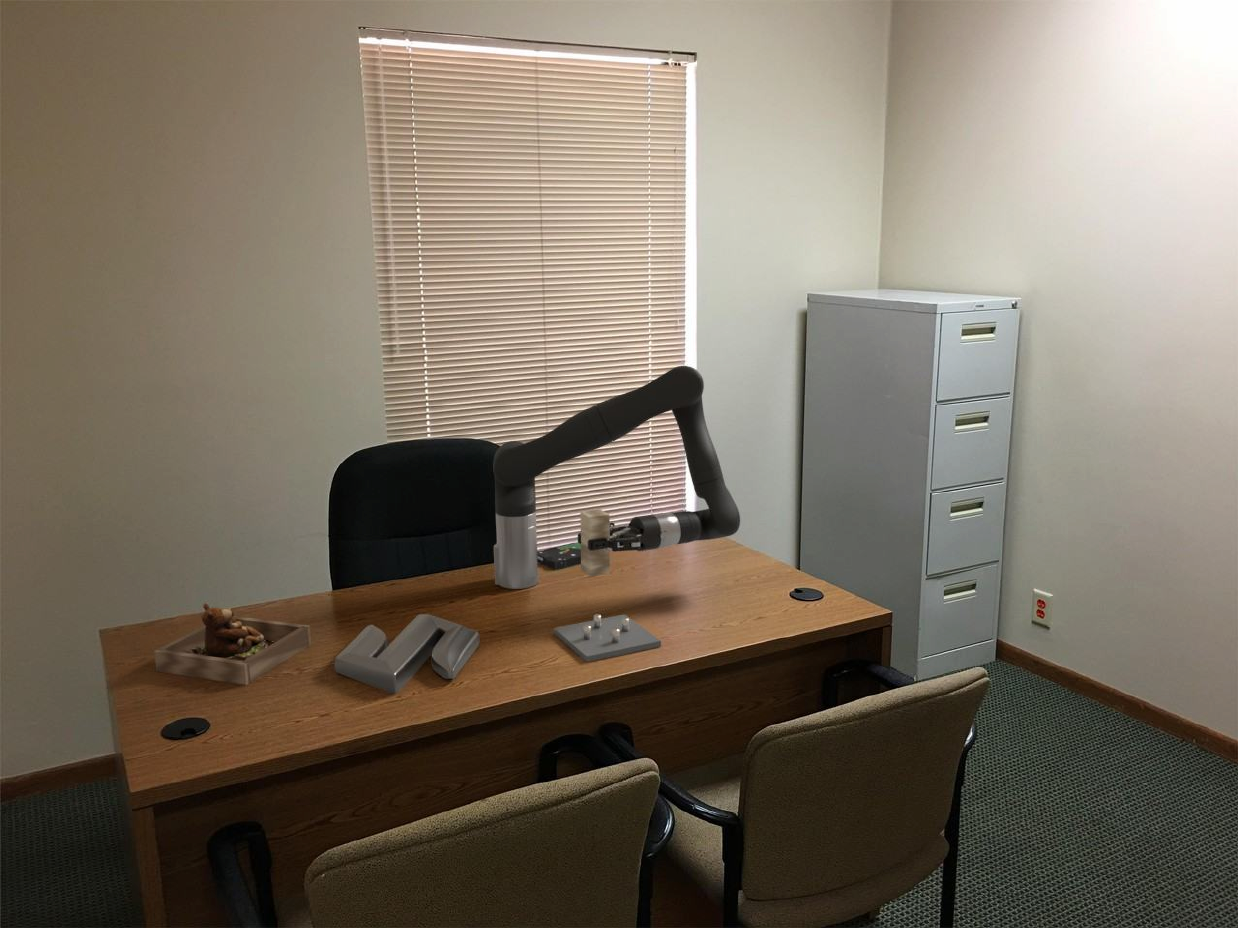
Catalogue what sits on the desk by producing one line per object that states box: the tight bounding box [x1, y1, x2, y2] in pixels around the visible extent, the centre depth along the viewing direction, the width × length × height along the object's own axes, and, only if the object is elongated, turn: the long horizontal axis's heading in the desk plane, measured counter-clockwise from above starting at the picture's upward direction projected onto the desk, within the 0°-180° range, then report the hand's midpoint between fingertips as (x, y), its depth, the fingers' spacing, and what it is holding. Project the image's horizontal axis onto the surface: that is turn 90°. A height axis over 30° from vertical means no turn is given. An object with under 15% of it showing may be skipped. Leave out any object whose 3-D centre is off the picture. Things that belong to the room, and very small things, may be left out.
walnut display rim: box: [153, 615, 312, 686], centre depth 193 cm, size 20×19×4 cm
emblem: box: [334, 613, 480, 695], centre depth 190 cm, size 28×5×28 cm
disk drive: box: [537, 541, 581, 571], centre depth 249 cm, size 10×3×15 cm
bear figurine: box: [191, 603, 268, 661], centre depth 192 cm, size 14×15×12 cm
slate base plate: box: [553, 613, 662, 663], centre depth 199 cm, size 16×16×4 cm
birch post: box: [579, 508, 611, 578], centre depth 211 cm, size 5×5×13 cm
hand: (583, 542), depth 209 cm, fingers closed on birch post, 4 cm apart
